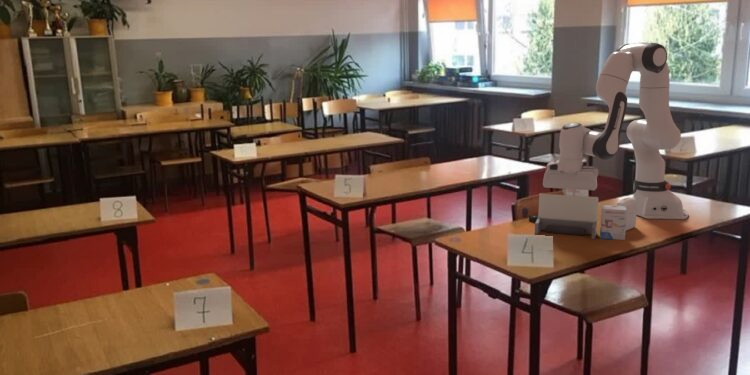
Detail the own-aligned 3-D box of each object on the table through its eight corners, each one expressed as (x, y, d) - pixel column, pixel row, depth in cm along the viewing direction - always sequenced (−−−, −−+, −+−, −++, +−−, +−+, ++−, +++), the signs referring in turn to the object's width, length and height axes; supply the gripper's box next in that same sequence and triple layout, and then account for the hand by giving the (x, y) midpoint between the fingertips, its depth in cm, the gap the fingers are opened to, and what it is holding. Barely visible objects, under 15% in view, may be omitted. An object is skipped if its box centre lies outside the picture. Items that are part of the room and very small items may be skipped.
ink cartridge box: (588, 214, 269) (589, 180, 266) (582, 216, 266) (583, 182, 262) (570, 210, 275) (571, 177, 272) (563, 213, 272) (565, 179, 269)
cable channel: (596, 233, 243) (596, 222, 242) (594, 239, 236) (595, 227, 235) (537, 228, 252) (538, 217, 251) (534, 234, 245) (535, 223, 244)
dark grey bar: (586, 236, 242) (586, 229, 243) (585, 234, 240) (586, 226, 241) (545, 233, 248) (546, 226, 249) (544, 230, 245) (545, 223, 246)
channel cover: (596, 222, 242) (597, 221, 243) (598, 197, 242) (598, 197, 242) (538, 217, 251) (538, 217, 251) (539, 193, 250) (539, 193, 251)
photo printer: (623, 232, 243) (624, 201, 240) (612, 230, 246) (614, 199, 243) (637, 227, 249) (639, 196, 246) (627, 225, 252) (628, 194, 250)
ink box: (600, 239, 237) (602, 208, 234) (599, 235, 241) (601, 204, 239) (625, 240, 234) (627, 209, 232) (623, 236, 239) (625, 205, 236)
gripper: (599, 164, 246) (597, 199, 249) (545, 162, 253) (544, 196, 257) (598, 168, 240) (596, 203, 243) (542, 165, 248) (541, 199, 251)
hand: (569, 199), depth 250 cm, fingers closed
